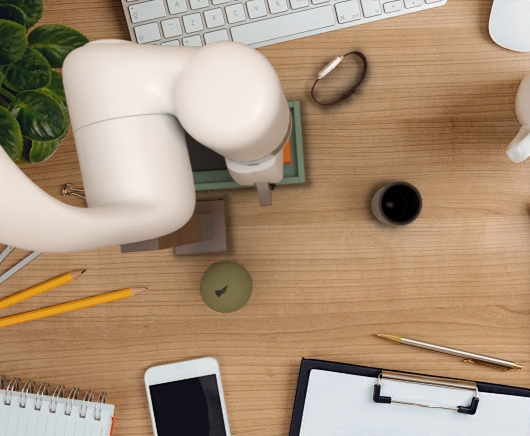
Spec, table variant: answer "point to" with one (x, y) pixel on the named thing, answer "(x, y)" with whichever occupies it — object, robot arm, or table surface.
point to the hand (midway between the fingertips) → (268, 144)
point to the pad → (203, 156)
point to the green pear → (226, 286)
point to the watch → (331, 66)
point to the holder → (291, 171)
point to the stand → (192, 233)
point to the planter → (397, 203)
